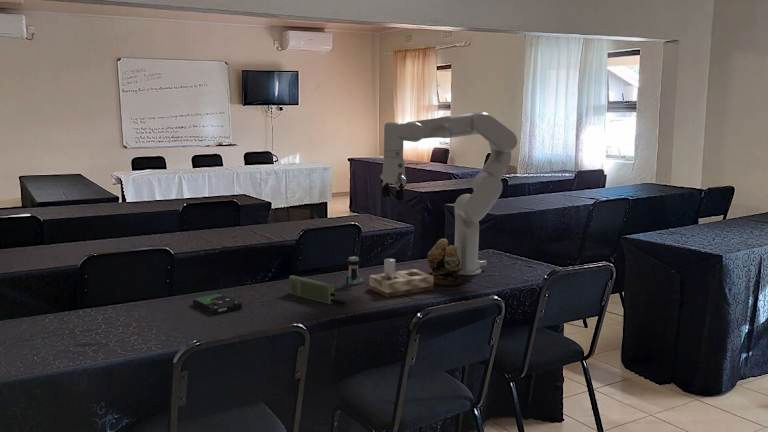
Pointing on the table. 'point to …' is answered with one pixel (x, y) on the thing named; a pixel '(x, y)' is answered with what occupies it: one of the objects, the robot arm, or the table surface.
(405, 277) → the socket block
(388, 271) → the pin
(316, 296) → the handheld radio
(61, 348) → the table surface
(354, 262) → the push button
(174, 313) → the table surface
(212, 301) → the disk drive
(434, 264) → the tan lumpy piece
